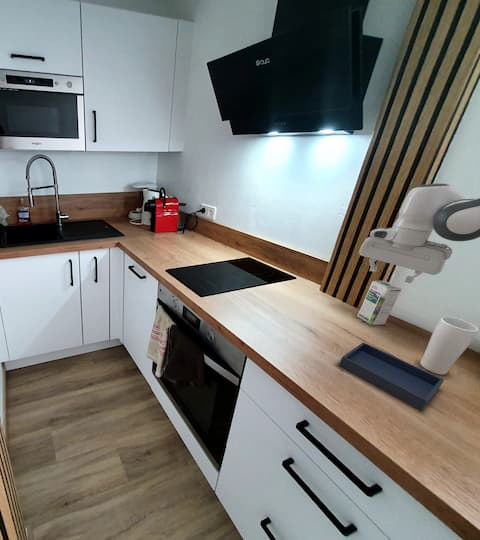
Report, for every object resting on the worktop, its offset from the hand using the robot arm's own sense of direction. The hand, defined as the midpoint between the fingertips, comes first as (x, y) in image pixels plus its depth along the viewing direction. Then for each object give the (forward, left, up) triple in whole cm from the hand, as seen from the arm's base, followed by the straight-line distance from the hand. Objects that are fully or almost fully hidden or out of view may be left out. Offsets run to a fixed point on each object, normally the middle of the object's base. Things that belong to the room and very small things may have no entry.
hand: (389, 276), depth 95 cm
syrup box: (0, 0, -18) cm, 18 cm away
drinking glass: (-20, +14, -18) cm, 30 cm away
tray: (-14, +30, -17) cm, 37 cm away
